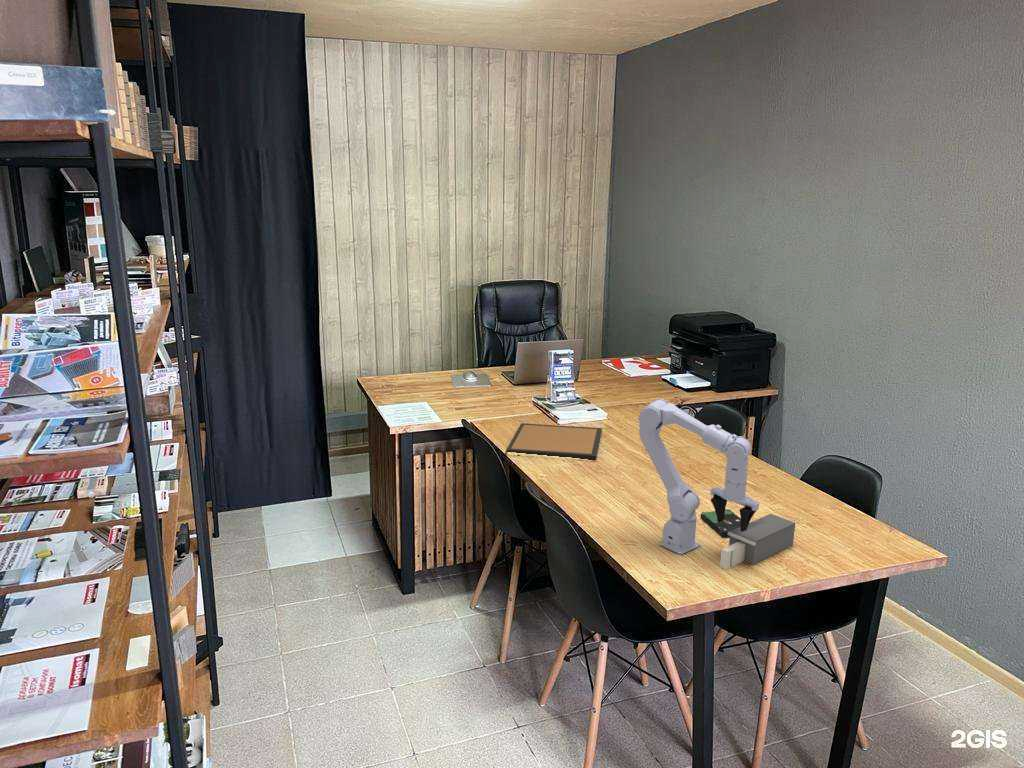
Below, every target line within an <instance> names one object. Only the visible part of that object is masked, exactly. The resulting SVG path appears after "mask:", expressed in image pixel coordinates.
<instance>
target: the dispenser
mask: <svg viewBox="0 0 1024 768" xmlns="http://www.w3.org/2000/svg"><path fill="white" fill-rule="evenodd" d="M795 529H796V522H794V521H791V520H789V519H787V518H784V517H781V516H778V515H775V514H773V513H769V514H767V515H764V516H761V517H760V518H758V519H755V520H753V521H750V522H749V525H748V527H747V530H746V531H744V532H742V531H741V530H740V527H739V528H737V529H734V530H732V531H730V532H728V535H729V536H730V538H729V542H728V546H730V545H732V544H734V543H736V542H739V541H744V542H746V543H747V548H746V558H745V563H747V564H749V565H751V566H754V565H757V564H758V563H760V562H762V561H764V560H767V559H768V558H770V557H773V556H774V555H776V554H779V553H780V552H782V551H784V550H787V549H789V548H791V547H792V546H794V539H795Z"/></svg>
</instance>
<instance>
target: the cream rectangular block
mask: <svg viewBox="0 0 1024 768" xmlns="http://www.w3.org/2000/svg"><path fill="white" fill-rule="evenodd" d="M746 548H747V543H746V542H744V541H739V542H736V543H734V544H732V545H730V546H729V545H727V546H726V547H724V548H721V551H720V561H719V562H720V563H719V567H720V568H722V569H725V570H728V569H730V568H733V567H735V566H737V565H738V564H740V563H742V562H744V561H745V558H746Z"/></svg>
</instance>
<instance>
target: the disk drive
mask: <svg viewBox="0 0 1024 768" xmlns="http://www.w3.org/2000/svg"><path fill="white" fill-rule="evenodd" d="M700 520H702V521H703V523H705V524H707V526H708V527H710V528H711V530H713V531H714V532H715V533H716V534H717V535H719V536H720V537H721V538H722V539H730V536H729V535H728V532H730V531H732V530H734V529H737V528H739V527H740V525H741V516H740V517H739V515H737V514H736V513H735V512H733V511H732V510H731V509H726V508H725V516H724V521H722V522H720V523H719V522H718V521H717V516H716V512H715V510H714V511H701V513H700Z"/></svg>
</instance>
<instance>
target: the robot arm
mask: <svg viewBox="0 0 1024 768" xmlns="http://www.w3.org/2000/svg"><path fill="white" fill-rule="evenodd" d="M637 421H638V422H639V424H638V428H639V429H638V430H639V431H638V432H639V433H638V435H639V439H640V441H641V443H642V445H643V447H644V449H645V451H646V452H647V454H648V456H649V458H650V460H651V462H652V464H653V465H654V468H655V470H656V472H657V474H658V475H659V478H660V480H661V481H662V484H663V485H664V488H665V489H666V501H667V503H668V507H669V508H668V509H669V514H670V518H669V519H668V520H667V521H666V522H665V523H664V524H663V527H662V542H660V543H659V545H660V546H662V547H664V548H666V549H668V550H670V551H672V552H674V553H676V554H679V555H683V554H685V553H687V552H690V551H693V550H694V549H697V548H699V547H701V546H702V543H699V542H697V541H696V534H697V533H696V531H697V517H698V516H697V512H696V510H697V509H698V508H699V507H700V505H701V500H700V497H699V495H698V494H697V493H695V492H694V490H692V488H691V487H690V485H689V484H687V483H686V482H684V481H683V478H682V476H681V474H680V473H679V471H678V469H677V467H676V464H675V463H674V461H673V459H672V457H671V455H670V453H669V451H668V449H667V447H666V446H665V444H664V441H663V439H662V438H661V436H660V433H661V430H662V427H663V426H668V425H674V424H675V425H677V426H679V427H681V428H684V429H685V430H688V431H689V432H692V433H694V434H696V435H698V436H700V439H701V440H702V441H701V442H702V443H704V444H705V445H707V446H709V447H711V448H713V449H715V450H716V451H718V452H720V453H722V454H724V455H725V457H726V460H727V461H726V467H725V478H724V488H720V487H715V486H714V487H712V488H710V494H709V495H710V496H712V497H711V498H710V502H711V504H712V506H713V508H714V511H715V512H716V516H717V521H718V522H719V523H720V522H722V521H724V516H725V510H726V506H727V503H728V502H730V503H731V502H732V503H735V504H737V505H741V506H743V507H742V508H739V514H740V518H741V525H740V530H741V531H742V532H744V531H746V530H747V527H748V525H749V523H750V522H751V521H752V518H753V517H754V515H755V513H756V512H758V510H759V509H760V502H759V501H755V500H754V499H752V498H750V496H747V495H746V491H747V482H748V471H749V470H748V469H749V466H748V464H749V455H750V454H751V451H752V444H751V442H750V441H749V439H747V438H746V437H745V436H738V435H736V434H735V433H733V434H732V433H730V432H728V431H726V430H724V429H723V428H722V426H721V425H720V424H716V425H715V424H714V423H713V424H710V425H709V424H708V425H706V424H704V422H701V421H700V420H698V419H697V418H695V417H694V416H692V415H690V414H688V413H687V412H685V411H683V410H682V409H680V408H679V407H678V406H676V404H674V403H672V402H669V401H667V400H666V399H664V398H656V399H654V400H653V401H652V402H650V403H649V404H648V405H646V406H643V408H642V409H641V411H640V412H639V414H638V416H637Z"/></svg>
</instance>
